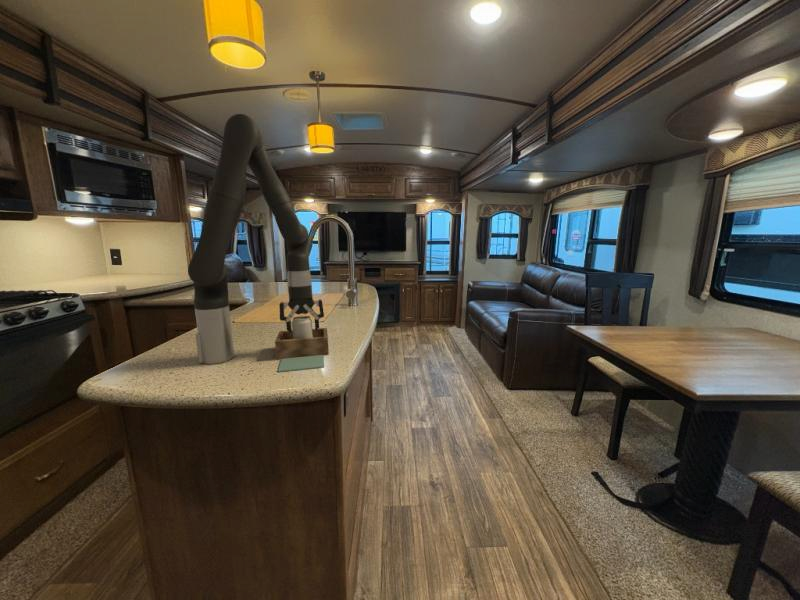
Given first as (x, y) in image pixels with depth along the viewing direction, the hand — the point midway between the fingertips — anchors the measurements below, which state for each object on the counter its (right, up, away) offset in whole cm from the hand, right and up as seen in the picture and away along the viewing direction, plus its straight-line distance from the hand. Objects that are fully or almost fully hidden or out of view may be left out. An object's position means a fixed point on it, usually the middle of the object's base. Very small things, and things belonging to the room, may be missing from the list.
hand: (303, 330), depth 105 cm
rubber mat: (+3, -9, -10) cm, 14 cm away
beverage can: (0, -7, +1) cm, 7 cm away
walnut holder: (0, -7, +1) cm, 7 cm away
